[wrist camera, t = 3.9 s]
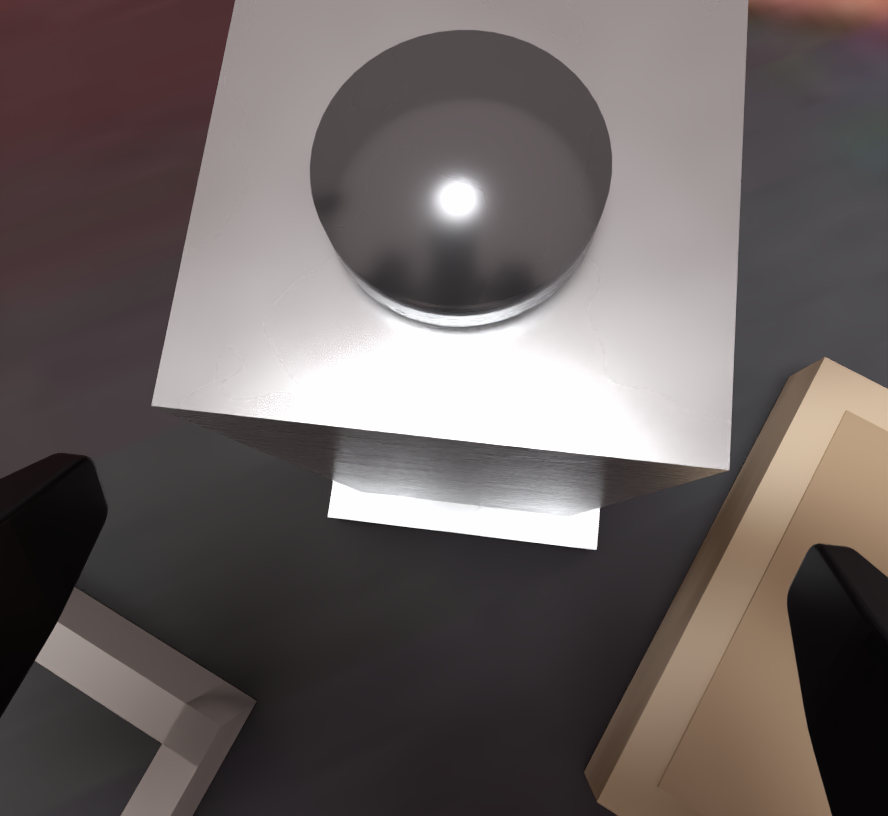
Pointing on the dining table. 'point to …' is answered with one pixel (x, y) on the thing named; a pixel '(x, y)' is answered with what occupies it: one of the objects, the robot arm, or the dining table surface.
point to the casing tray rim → (150, 700)
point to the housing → (469, 255)
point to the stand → (751, 618)
